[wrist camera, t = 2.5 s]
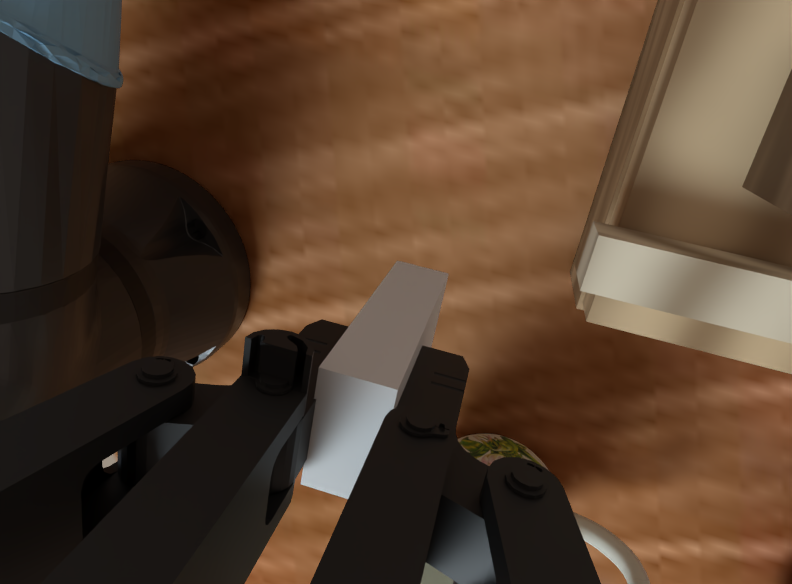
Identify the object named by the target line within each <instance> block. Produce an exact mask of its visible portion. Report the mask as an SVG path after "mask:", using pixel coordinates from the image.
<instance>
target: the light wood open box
mask: <svg viewBox="0 0 792 584" xmlns="http://www.w3.org/2000/svg"><path fill="white" fill-rule="evenodd" d="M684 2H685V0H658V2H657V5H656V8H655V11H654V14H653V17H652V20H651V23H650V26H649V29H648V33H647V36H646V39H645V42H644V45H643V48H642V51H641V54H640V57H639V60H638V64H637V67H636V70H635V73H634V76H633V79H632V82H631V85H630V88H629V91H628V94H627V98H626V101H625V104H624V107H623V110H622V113H621V116H620V119H619V122H618V125H617V128H616V132H615V135H614V138H613V141H612V144H611V147H610V150H609V153H608V156H607V159H606V162H605V166H604V169H603V172H602V175H601V178H600V181H599V184H598V187H597V190H596V193H595V197H594V200H593V203H592V206H591V209H590V212H589V215H588V218H587V221H586V224H585V227H584V231H583V234H582V237H581V240H580V243H579V246H578V249H577V252H576V255H575V258H574V261H573V265H572V268H571V271H570V275H571V281H572V287H573V292H574V298H575V304H576V309H580V310H584V308H583V303H582V302H583V299H584V296H585V293H586V292H583V291H580V288H579V283H578V278H577V273H576V272H577V269H578V266H579V263H580V260H581V257H582V253H583V250H584V247H585V244H586V241H587V238H588V235H589V232H590V229H591V226H592V223H593V221H596V222H601V223H605V224H609V223H610V220H611V217H612V214H613V211H614V208H615V205H616V202H617V199H618V196H619V193H620V190H621V187H622V184H623V182H624V179H625V176H626V173H627V170H628V167H629V164H630V161H631V158H632V155H633V152H634V149H635V146H636V143H637V140H638V137H639V134H640V131H641V129H642V126H643V123H644V120H645V117H646V114H647V111H648V108H649V105H650V102H651V99H652V96H653V93H654V90H655V87H656V84H657V81H658V78H659V76H660V73H661V70H662V67H663V64H664V61H665V58H666V55H667V52H668V49H669V46H670V43H671V40H672V37H673V34H674V31H675V28H676V25H677V22H678V20H679V17H680V14H681V11H682V8H683V5H684Z"/></svg>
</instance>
